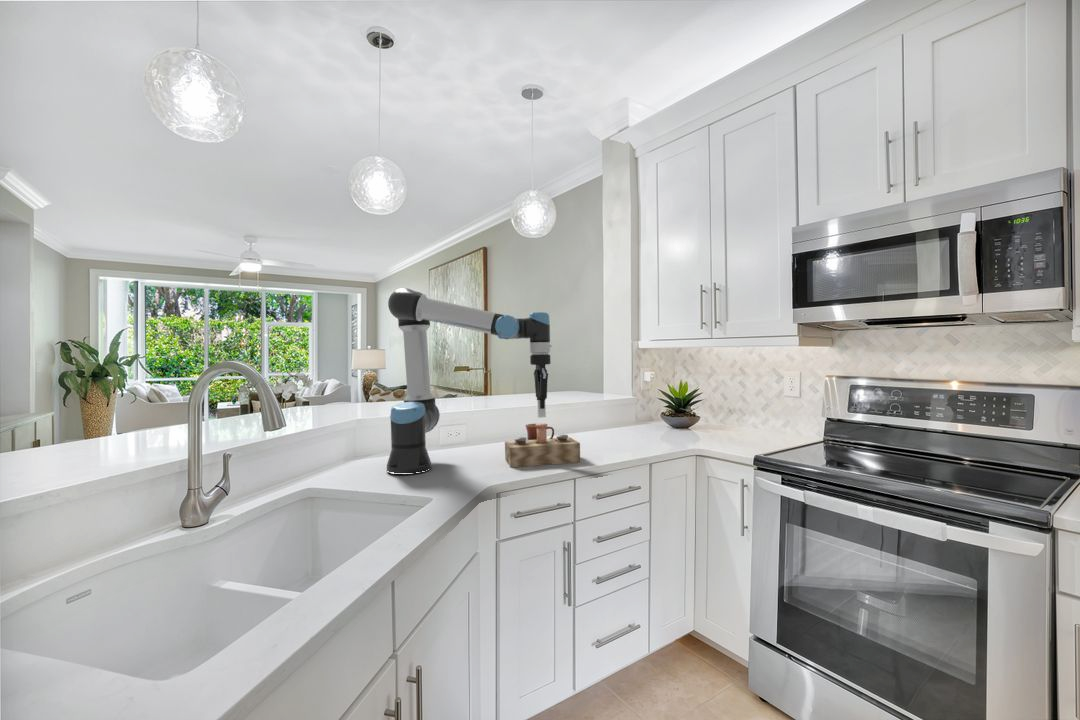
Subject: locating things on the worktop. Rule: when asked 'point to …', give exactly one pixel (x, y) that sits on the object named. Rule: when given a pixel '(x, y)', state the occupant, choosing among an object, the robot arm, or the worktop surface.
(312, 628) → the worktop surface
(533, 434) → the mug
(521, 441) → the plug near
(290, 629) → the worktop surface
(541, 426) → the plug mid
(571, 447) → the socket board
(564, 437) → the plug far
